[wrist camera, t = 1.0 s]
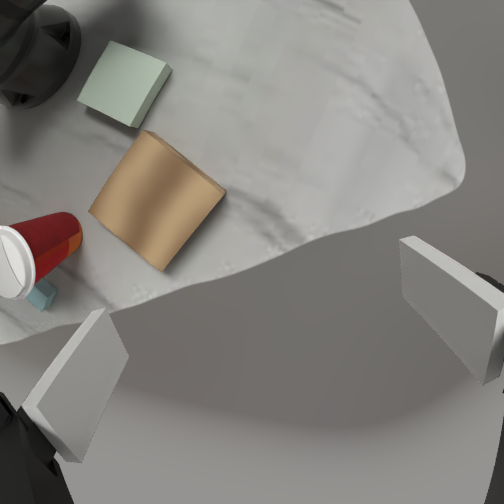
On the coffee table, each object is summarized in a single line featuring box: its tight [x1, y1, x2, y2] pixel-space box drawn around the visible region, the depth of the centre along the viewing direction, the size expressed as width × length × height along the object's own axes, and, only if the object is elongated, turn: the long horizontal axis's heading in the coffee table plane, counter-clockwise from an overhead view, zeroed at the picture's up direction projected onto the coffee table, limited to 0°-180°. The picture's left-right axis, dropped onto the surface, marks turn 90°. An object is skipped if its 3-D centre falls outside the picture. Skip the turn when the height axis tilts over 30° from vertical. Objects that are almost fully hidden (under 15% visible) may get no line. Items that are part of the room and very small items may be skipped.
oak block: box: [88, 130, 226, 272], centre depth 35 cm, size 11×11×4 cm
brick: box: [26, 278, 57, 312], centre depth 39 cm, size 6×3×3 cm, turn 52°
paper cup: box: [0, 212, 82, 300], centre depth 31 cm, size 8×8×14 cm
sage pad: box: [77, 41, 172, 128], centre depth 31 cm, size 8×8×3 cm
